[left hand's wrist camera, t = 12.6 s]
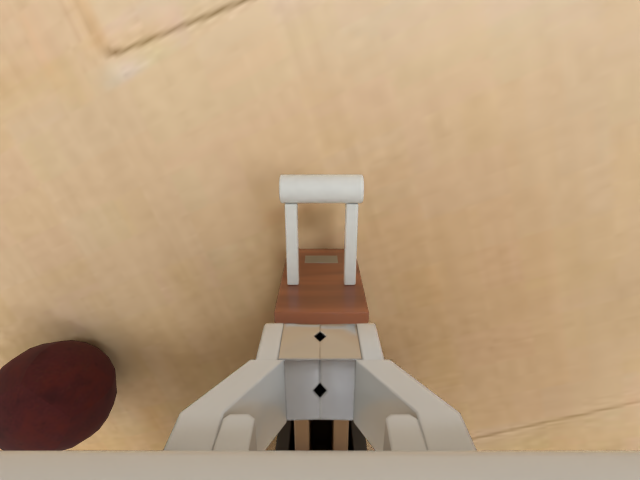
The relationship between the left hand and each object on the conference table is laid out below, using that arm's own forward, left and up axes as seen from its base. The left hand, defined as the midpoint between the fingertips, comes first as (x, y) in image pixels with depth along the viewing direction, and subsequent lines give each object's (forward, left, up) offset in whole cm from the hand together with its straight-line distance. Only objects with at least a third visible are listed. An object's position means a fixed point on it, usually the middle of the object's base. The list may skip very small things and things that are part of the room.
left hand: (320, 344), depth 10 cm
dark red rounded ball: (+4, +21, -15) cm, 27 cm away
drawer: (-6, +6, -14) cm, 17 cm away
